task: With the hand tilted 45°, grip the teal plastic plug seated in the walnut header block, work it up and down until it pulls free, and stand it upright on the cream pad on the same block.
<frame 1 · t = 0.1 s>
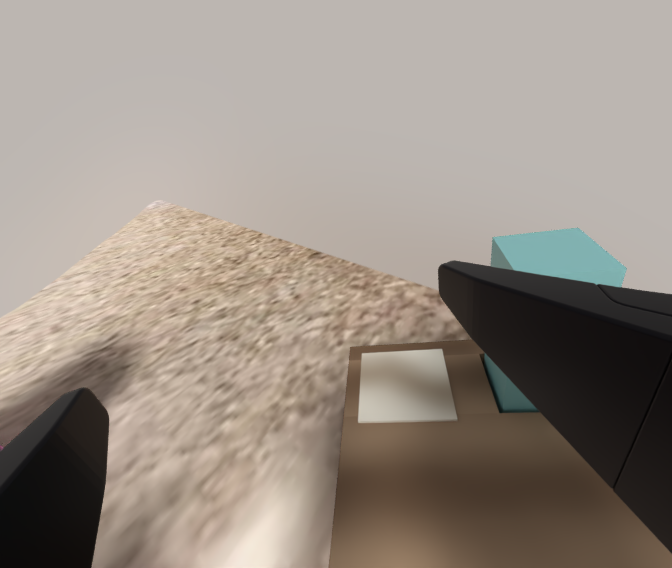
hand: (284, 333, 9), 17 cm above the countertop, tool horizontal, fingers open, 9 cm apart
plug: (535, 342, 21), in the header
header: (524, 408, 24), on the countertop
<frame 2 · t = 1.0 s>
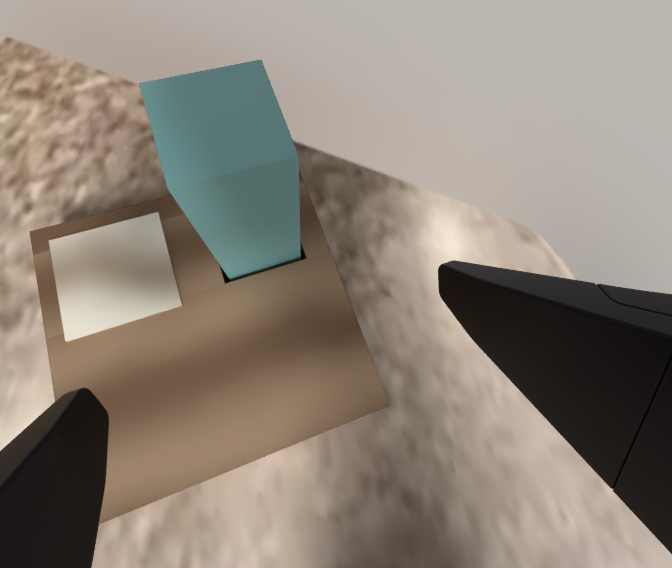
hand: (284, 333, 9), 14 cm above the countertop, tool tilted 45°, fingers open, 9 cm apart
plug: (246, 207, 18), in the header
header: (260, 252, 24), on the countertop
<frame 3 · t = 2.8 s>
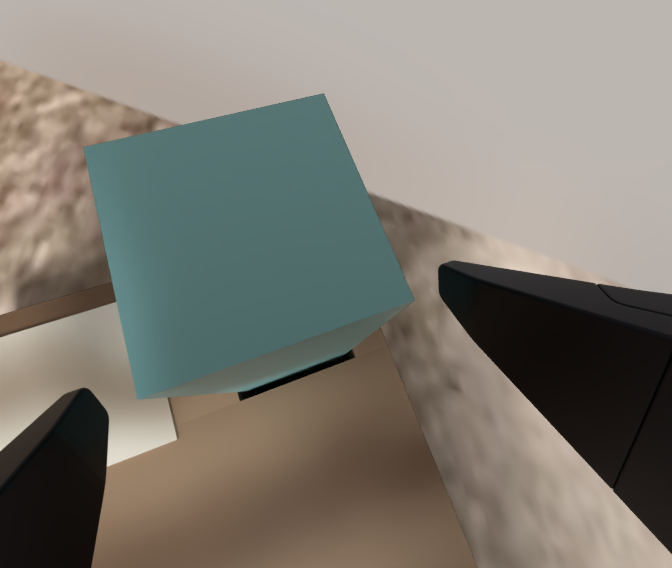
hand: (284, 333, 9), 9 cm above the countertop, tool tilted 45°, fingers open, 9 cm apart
plug: (274, 305, 12), in the header
header: (284, 332, 18), on the countertop
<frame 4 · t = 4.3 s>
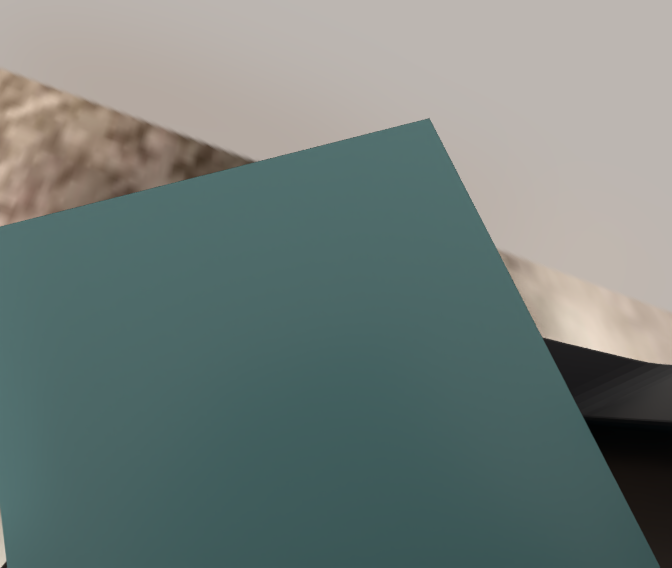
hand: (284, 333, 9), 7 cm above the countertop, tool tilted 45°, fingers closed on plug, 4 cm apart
plug: (301, 387, 9), in the header, touching gripper
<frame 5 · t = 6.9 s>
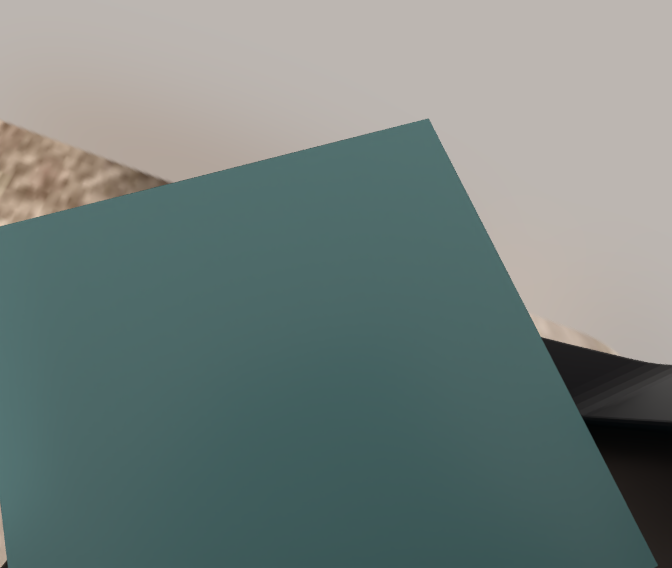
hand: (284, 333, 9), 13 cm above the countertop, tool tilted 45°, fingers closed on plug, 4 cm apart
plug: (301, 386, 9), point 12 cm above the countertop, touching gripper
when the fingers open (11 cm above the countertop, at t = 9.8 s): plug drops 1 cm, resting on header.
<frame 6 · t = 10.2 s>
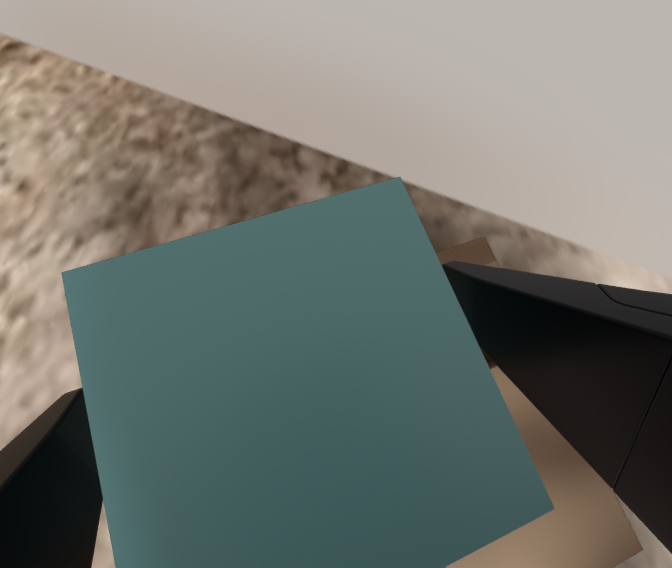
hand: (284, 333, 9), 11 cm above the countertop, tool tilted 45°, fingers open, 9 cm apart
plug: (301, 384, 10), on the header, point 9 cm above the countertop
header: (430, 336, 20), on the countertop
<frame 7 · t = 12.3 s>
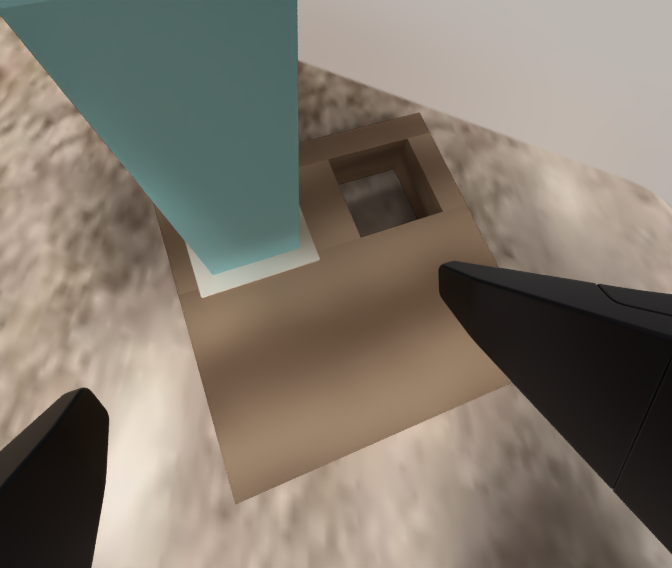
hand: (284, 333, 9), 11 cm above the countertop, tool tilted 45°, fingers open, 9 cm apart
plug: (215, 141, 12), on the header, point 9 cm above the countertop
header: (374, 210, 22), on the countertop
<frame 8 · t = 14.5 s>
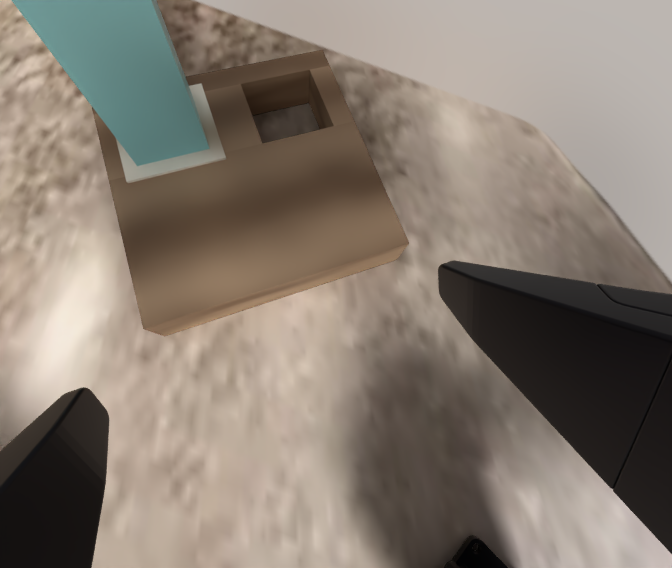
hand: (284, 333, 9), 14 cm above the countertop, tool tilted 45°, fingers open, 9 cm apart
plug: (114, 33, 16), on the header, point 9 cm above the countertop
header: (288, 135, 26), on the countertop
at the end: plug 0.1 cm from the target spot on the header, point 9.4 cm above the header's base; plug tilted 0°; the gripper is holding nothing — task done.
